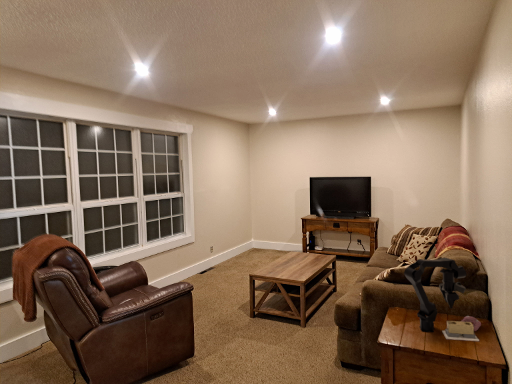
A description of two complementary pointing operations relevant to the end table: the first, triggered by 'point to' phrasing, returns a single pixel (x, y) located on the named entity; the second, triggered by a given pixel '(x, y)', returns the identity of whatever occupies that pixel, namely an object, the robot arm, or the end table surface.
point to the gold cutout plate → (460, 327)
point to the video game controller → (472, 319)
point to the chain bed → (460, 336)
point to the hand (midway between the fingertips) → (448, 305)
